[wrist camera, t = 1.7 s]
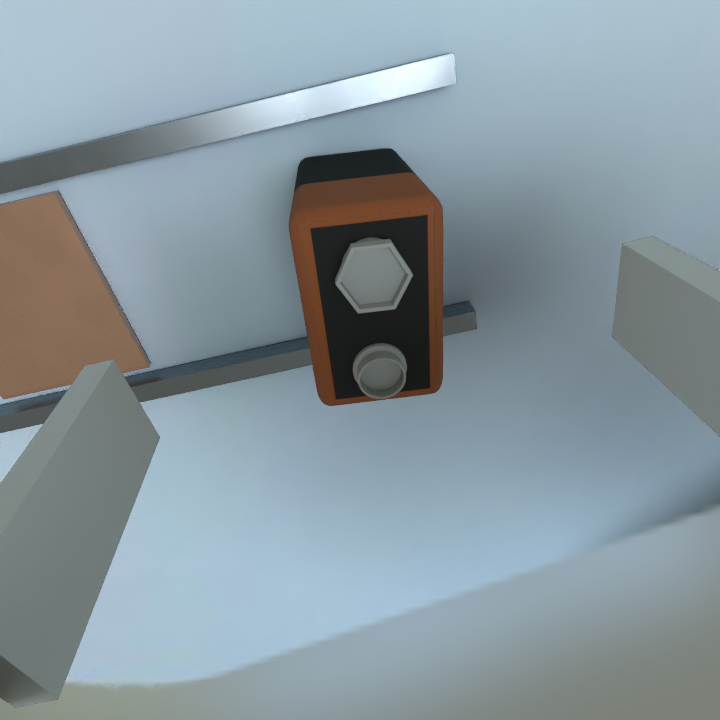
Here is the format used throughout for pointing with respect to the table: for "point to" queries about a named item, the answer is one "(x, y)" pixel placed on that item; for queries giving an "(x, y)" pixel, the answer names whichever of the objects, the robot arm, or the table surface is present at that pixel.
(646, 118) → the table surface
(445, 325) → the rail
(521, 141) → the table surface
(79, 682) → the table surface
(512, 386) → the table surface
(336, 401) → the battery
